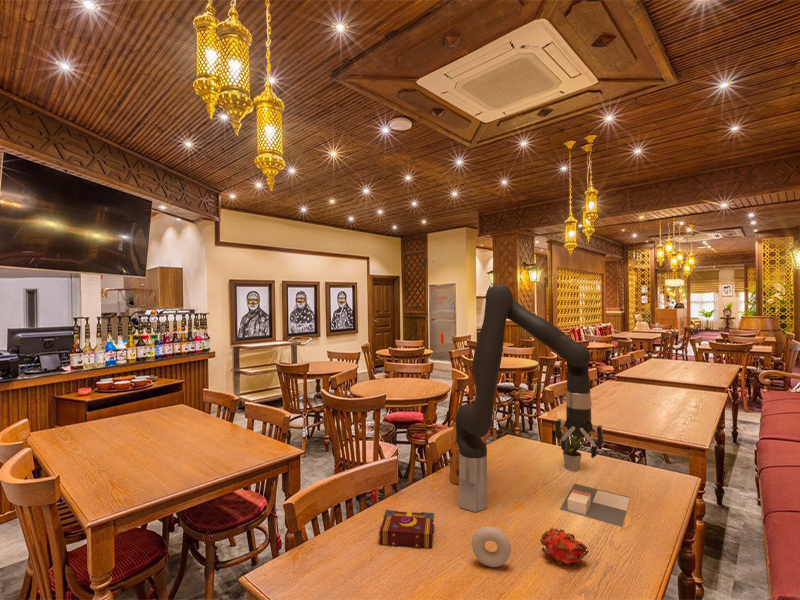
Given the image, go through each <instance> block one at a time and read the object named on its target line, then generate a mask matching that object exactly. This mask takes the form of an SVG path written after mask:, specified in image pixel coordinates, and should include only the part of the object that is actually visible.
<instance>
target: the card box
mask: <svg viewBox="0 0 800 600" xmlns="http://www.w3.org/2000/svg"><path fill="white" fill-rule="evenodd" d="M590 505H591V494H590V493H586V492H582V491H578V490H574V489H573V490H572V492H571V494H570V496H569V498H568V510H570V511H573V512H577V513H580V514H584V515H586V514H587V512H588V509H589V507H590Z"/></svg>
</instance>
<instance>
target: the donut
mask: <svg viewBox="0 0 800 600" xmlns="http://www.w3.org/2000/svg"><path fill="white" fill-rule="evenodd" d="M487 542H493V543H495V544H496V547H497V549H496V550H495V551H491V550H490V551H489V550H487V548H486V546H485V544H486V543H487ZM471 548H472V552H473V554H474V556H475V558H476V559H477V560H478V561H479V562H480V563H481V564H482V565H484V566H487V567H490V568H498V567H501V566H503V565H505V564H506V563H507V562H508V560H509V559H510V557H511V552H512V547H511V543H510V540H509V538H508V535H506V533H504V531H502V530H501V529H499V528H498V527H496V526H492V525H491V526H490V525H487V526H483V527H480V528H478V529H477V530H476V531H475V532H474V534H473V536H472V539H471Z"/></svg>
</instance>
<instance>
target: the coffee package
mask: <svg viewBox="0 0 800 600" xmlns="http://www.w3.org/2000/svg"><path fill="white" fill-rule="evenodd" d="M451 436H452V437H451V440H452V442H451V450H450V455H449V476H450V477H449V478H450V483H451V484H452V485H459V447H458V444H457V438H456V421H455V422H453V423H452V435H451ZM480 438H481V439H482V437H480Z"/></svg>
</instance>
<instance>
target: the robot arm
mask: <svg viewBox="0 0 800 600" xmlns="http://www.w3.org/2000/svg"><path fill="white" fill-rule="evenodd" d="M485 293H486V294H485V301H484V302H485V305H484V315H483V320H482V322H483V323H482V326H481V329H480V332H479V334H478V337H477V340H476V344H475V348H474V352H473V357H472V364H471V366H472V367H471V369H472V374H473V378H474V383H475V390H476V391H475V392H476V395H475V400H474V404H471V403H464V404H462V405H460V407H459V408H458V410H457V412H456V414H455V415H456V416H455V423H456V438H457V444H458V447H459V484H458V506H459V508H461V509H464V510H467V511H470V512H474V513H477V512H480V511H483V510H486V508H487V507H488V449H487V448H488V447H487V445H486V443H485V442H484V441H483V440H482V438H483V437H485V436H487V434H488V433H489V432H490V429H491V427H492V424H493V417H494V406H495V404H494V403H495V397H496V396H495V395H496V390H497V389H496V388H497V383H498V377H499V373H500V368H501V363H502V357H503V352H504V351H503V350H504V340H505V328H506V322H507V320H509V321H511V322H512V323H515V324H516V325H518V326H519V327H520V328H522V329H523V330H525V331H526V332H527V333H528V334H530V335H531V336H532V337H533V338H535V339H537V341H539V342H541V343H542V344H543V345H544V346H546V347H548V348H549V349H550V350H552V351H554V352H555V353H556V354H558V355H559V356H560V357H561V358H562V359H563V360H565V362H566V371H567V376H566V397H565V400H566V401H565V407H566V409H565V413H566V420H562V419H561V418H558V419H557V420H556V421H555V422H556V423H555V438H556V439H559V440H560V443H561V445H560V446H561V450H562V453H563V452H566V451H567V440H566V438H567V437H570V434H572V437H573V436H577V437H578V438H581V437H586V440H587V441H588V442H589V443H590V445H591V447H590V449H591V451H590V455H591V456H590V457H591V458H592V459H595V457H596V456H597V455H598V447H602V446H603V444H604V433H603V426H602V425H601V424H599V425H593V424H592V406H593V405H592V397H591V378H590V375H589V370H590V369H589V364H590V363H591V359H592V356H591V352H590V351H589V349H588V348H587V347H586V346H585V345H583V344H582V343H579V342H577V341H576V340H574V339H572V338H571V337H569V336H568V335H567V334H566V332H564V331H563V330H561V329H560V328H558V326H556V325H555V324H553V323H552V322H551V321H548V320H546V319H545V318H543V317H541V316H539V315H537V314H536V313H533V312H531V311H530V310H528V309H526V308H525V307H524V306H522V305H521V304H520V303H519V302H517V300H515V298H514V294H513V292H512V290H511V288H510V287H508V286H507V285H505V284H501V283H498V284H495V285H491V287H490V288H488V290H487V291H486V292H485ZM564 425H565V427H566V429H567V431H566V432H565V434H564V435H563V433H562V431H561V429H562V428H563V427H564ZM592 430H593V431H594V433H596V434H597V435H596V436H597V440H596V439H595V437H594V436H593V433H591V432H592ZM480 437H481V438H480Z"/></svg>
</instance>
